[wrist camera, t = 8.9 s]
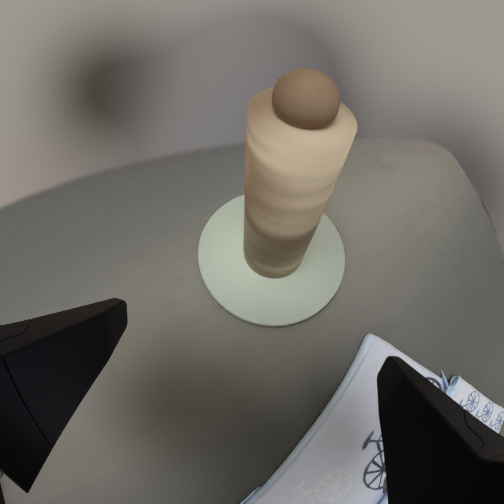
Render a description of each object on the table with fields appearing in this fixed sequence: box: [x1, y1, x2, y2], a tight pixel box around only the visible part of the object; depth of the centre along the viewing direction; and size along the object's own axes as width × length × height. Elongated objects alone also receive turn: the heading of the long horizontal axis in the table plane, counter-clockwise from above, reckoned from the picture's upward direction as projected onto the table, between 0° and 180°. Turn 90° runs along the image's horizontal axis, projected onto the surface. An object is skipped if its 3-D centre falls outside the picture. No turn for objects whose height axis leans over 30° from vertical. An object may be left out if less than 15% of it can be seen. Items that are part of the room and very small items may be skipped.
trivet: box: [198, 195, 345, 327], centre depth 21 cm, size 11×11×1 cm
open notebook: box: [240, 333, 504, 504], centre depth 13 cm, size 19×20×2 cm
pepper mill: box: [243, 68, 357, 279], centre depth 14 cm, size 4×4×14 cm
